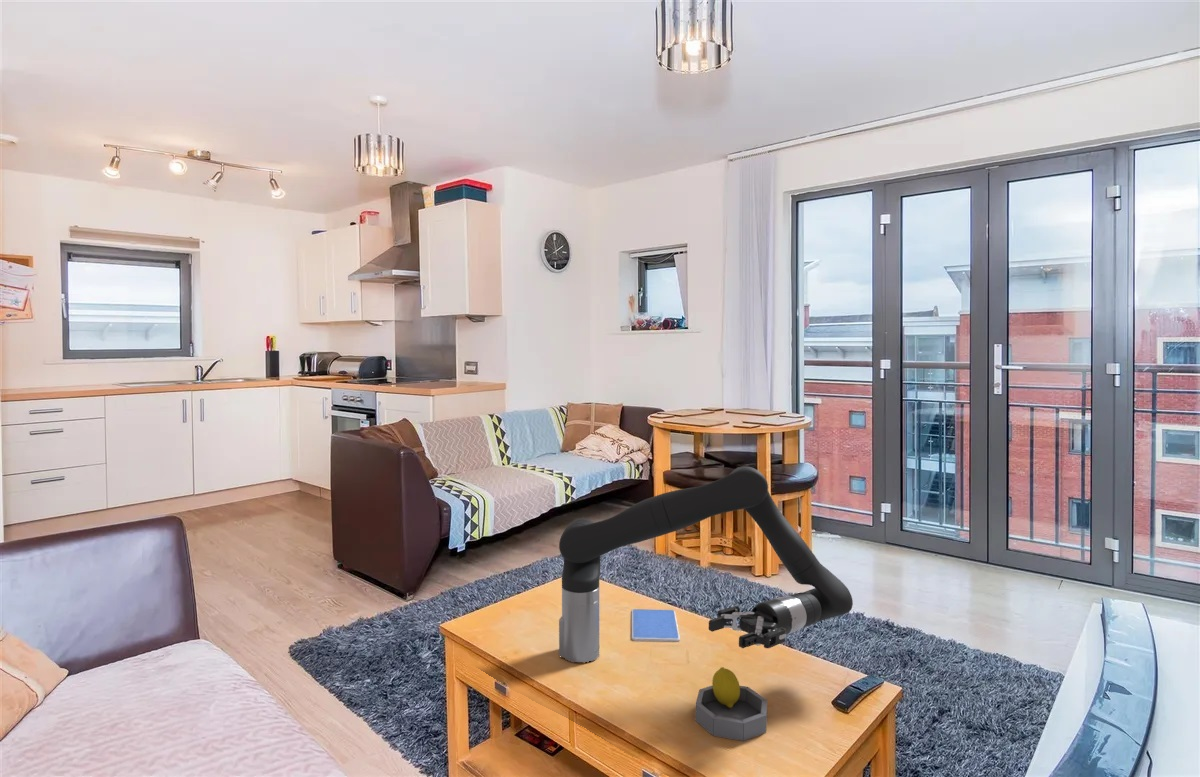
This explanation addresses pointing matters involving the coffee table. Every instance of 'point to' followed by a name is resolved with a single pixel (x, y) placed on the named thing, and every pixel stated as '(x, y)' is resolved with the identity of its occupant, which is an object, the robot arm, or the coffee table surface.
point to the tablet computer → (654, 625)
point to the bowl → (732, 714)
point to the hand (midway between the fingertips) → (724, 634)
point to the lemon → (726, 687)
